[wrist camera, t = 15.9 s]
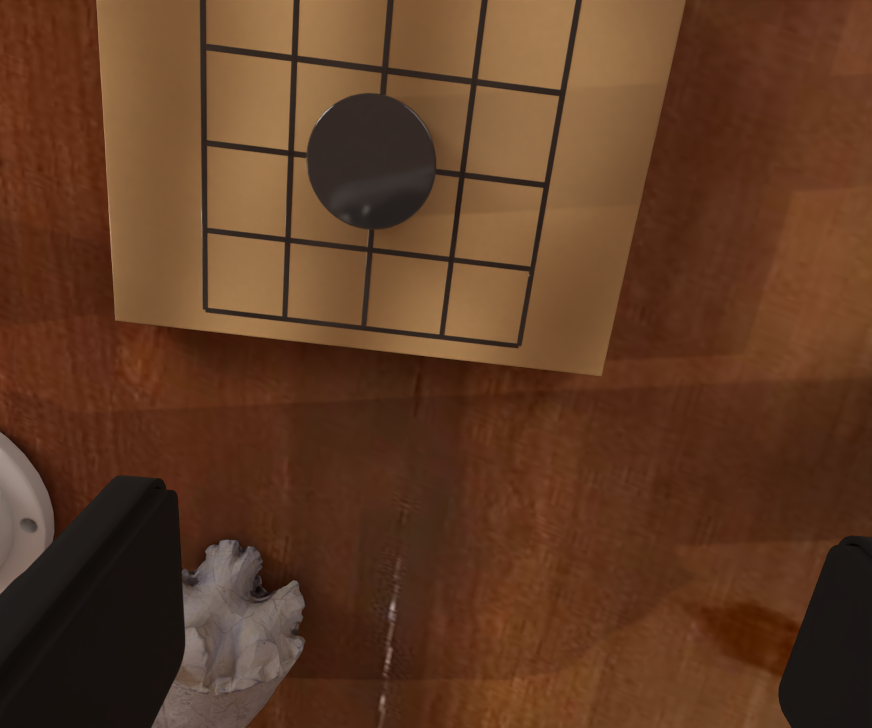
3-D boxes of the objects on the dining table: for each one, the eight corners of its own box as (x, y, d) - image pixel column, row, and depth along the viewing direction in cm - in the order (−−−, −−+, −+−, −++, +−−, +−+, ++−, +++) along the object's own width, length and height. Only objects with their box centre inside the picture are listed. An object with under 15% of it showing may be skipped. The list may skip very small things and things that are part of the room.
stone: (115, 662, 37) (48, 775, 30) (194, 513, 33) (137, 605, 27) (240, 712, 38) (201, 830, 32) (328, 574, 35) (304, 675, 28)
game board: (135, 309, 30) (114, 321, 28) (116, -89, 24) (88, -108, 22) (591, 361, 30) (601, 376, 28) (673, -13, 25) (692, -25, 23)
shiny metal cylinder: (320, 211, 26) (302, 222, 23) (327, 91, 24) (308, 84, 21) (430, 224, 26) (428, 237, 23) (443, 106, 25) (444, 101, 21)
